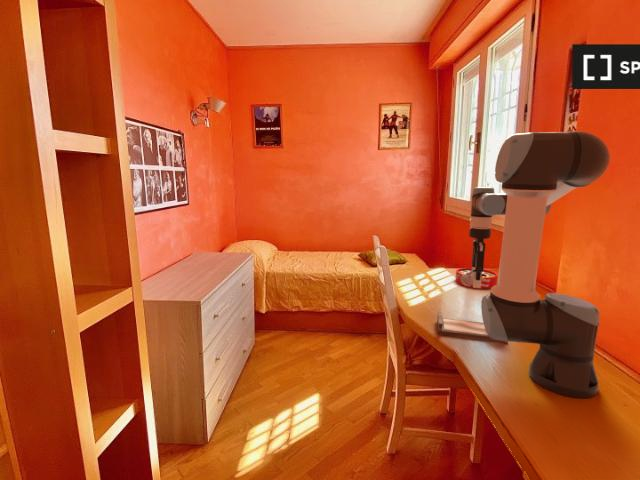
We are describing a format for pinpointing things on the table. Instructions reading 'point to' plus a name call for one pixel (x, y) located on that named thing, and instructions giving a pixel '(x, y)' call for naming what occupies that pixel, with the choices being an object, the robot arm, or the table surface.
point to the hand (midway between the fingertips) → (475, 285)
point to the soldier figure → (469, 279)
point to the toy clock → (485, 275)
